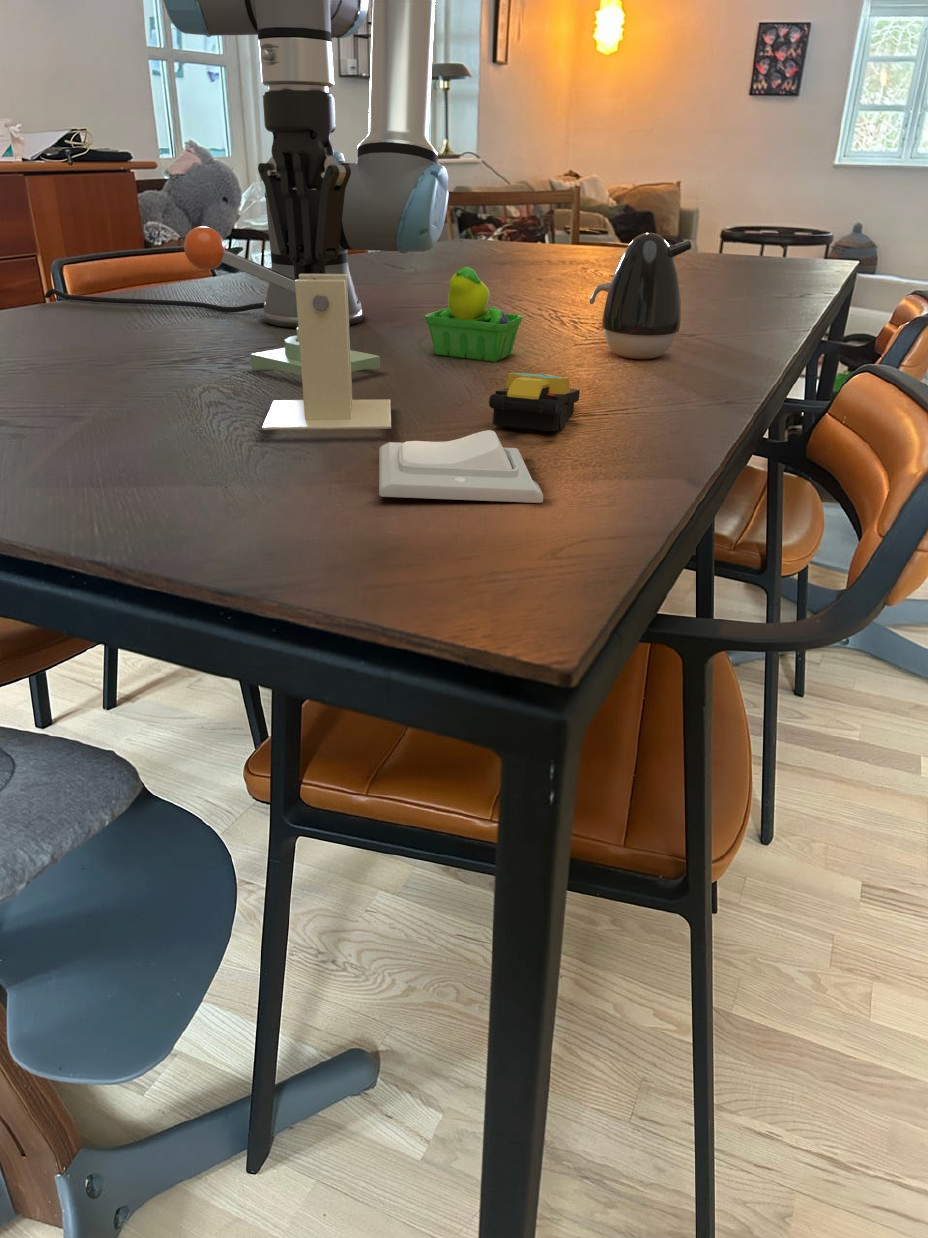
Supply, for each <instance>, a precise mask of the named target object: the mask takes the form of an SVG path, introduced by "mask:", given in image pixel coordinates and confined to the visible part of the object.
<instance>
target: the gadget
mask: <svg viewBox="0 0 928 1238" xmlns="http://www.w3.org/2000/svg"><path fill="white" fill-rule="evenodd" d="M580 394H581V389H577V388H573V387H570V377H566V376H559V375H553V374H550V373H549V374H547V373H525V372H509V373H508V374H507V379H506V384H505V388H503V389H498V390H495V393H492V394H490V396H489V398H488V399H489V401H488V406H489V407H490V408H491V409H493V412H492V413H493V414H492V425H493V426H501V427H503V428H506V429H507V428H508V429H511V430H514V431H517V432H521V433H530V434H532V433H548V432H559V430H563V428H565V427H566V422H567V421H568V420H569V418H571V417H572V416H573V414H574V407H575V403H577V402H579V401H580Z"/></svg>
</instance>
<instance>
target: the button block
mask: <svg viewBox="0 0 928 1238" xmlns="http://www.w3.org/2000/svg"><path fill="white" fill-rule="evenodd" d="M283 344H284V347H280V348H276V349H270V350H265V351H259V352H255V353H250V360H251V361H250V363H251V370H252V371H260V370H261V371H263V370H266V371H267V370H268V371H269V370H271V371H273V370H275V371H281V372H284V373H289V374H292V375H297V376H301V377H302V371H301V358H300V344H299V342H297V335H293V336H289V337H286V338H285V339H284V340H283ZM350 357H351V373H353V372H358V371H362V370H381V356H380V355H377V354H371V353H367V352H361V351H357V350H353V349H350Z"/></svg>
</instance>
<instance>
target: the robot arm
mask: <svg viewBox="0 0 928 1238" xmlns="http://www.w3.org/2000/svg"><path fill="white" fill-rule="evenodd" d="M162 1H163V4H164V7H165V9H166V14H167V16H168V18H169V20H170V22H171V23H172V24H173V26H174V27H175V28H176V29H177V30H178V31H179V32H181V33H182V34H184V35H195V36H206V37H207V38H211V37H212V36H213V37H216V36H217V37H219V36H220V37H221V36H257V40H258V48H259V49H258V50H259V51H258V52H259V64H260V79H261V83H262V85H264V86H266V87H267V88H268V89H267V90H268V91H264V92H263V95H262V96H261V97H262V109H263V120H264V121H263V123H264V128H265V129H266V131H268V132H270V133H272V144H271V149H270V151H271V156H270V158H269V159H268V160H267V162H260V163H258V166H257V171H258V174H259V176H260V178H261V180H262V182H263V185H264V194H263V195H264V196H263V197H264V199H265V206H266V217H267V228H268V240H269V251H270V260H271V262H270V263H271V269H272V270H274V271H277V272H279V273H281V274H284V275H286V276H288V277H291V278H293V279H295V280H296V279H299V274H347V292H348V314H349V326H350V325H355V324H358V323H360V322H361V321H362V320H363V309H362V304H361V301H360V300H358V294H357V290H356V287H355V284H354V281H353V278H352V275H351V272H350V267H349V256H348V255H349V254H348V253H349V250H350V251H374V252H376V251H377V252H398V253H400V254H407V253H418V252H420V253H421V252H423V253H424V252H427V251H430V250H432V249H433V248H434V247H435V246H436V245H437V243H438V241H439V239H440V237H441V235H442V232H443V229H444V226H445V223H446V222H445V221H446V217H447V212H448V205H449V174H448V171H447V168H445V166H444V165H442V164H440V163H439V162H438V159H439V155H438V153H439V152H438V151H437V150H436V149H435V147H434V146H433V145H432V144H431V142H430V141H429V129H430V128H429V127H430V107H431V106H430V104H431V86H432V67H433V66H432V64H433V46H434V45H433V44H434V43H433V42H434V26H435V25H434V24H435V5H436V3H435V2H436V0H372V12H371V13H372V15H371V17H372V18H371V43H370V44H371V46H370V47H371V48H370V72H369V73H370V78H369V105H368V106H369V107H368V112H369V113H368V134H367V135H366V137H365V138H364V139H363V140H362V141H361V142H359V143H358V145H357V148H356V162H346V158H344V154H343V153H342V152H341V151H335V150H334V148H333V145H332V142H331V134H332V133H334V132H335V131H336V128H337V126H336V125H337V124H336V104H335V97H334V96H333V94H332V93H330V92H329V88H333V87H334V85H335V77H334V75H335V74H334V60H333V59H334V58H333V57H334V56H333V44H332V39H334V38H335V39H344V38H348V37H350V36H352V35H355V34H356V32H357V31H358V30H359V29H360V28H361V27H362V26H363V24H364V22H365V20H366V18H367V15H368V11H369V0H162ZM52 295H56V296H58V297H60V298H61V299H64V300H69V301H70V300H71V301H79V302H90V303H91V302H92V303H102V304H103V303H105V304H124V305H126V304H127V305H152V306H172V307H173V306H174V307H190V308H200V309H201V308H202V309H207V310H212V311H217V312H223V313H241V312H247V311H253V310H259V309H262V311H263V320H264V322H266V323H267V324H269V325H273V326H277V327H283V328H284V327H285V328H295V329H297V328H298V316H297V302H296V293H293V292H291V291H289V290H286V289H284V288H281V287H279V286H277V285H274V284H272V283H269V282H268V286H267V291H266V297H265V301H264V302H258V303H249V304H245V305H239V306H224V305H218V304H213V303H209V302H208V303H207V302H200V301H191V300H190V301H189V300H173V299H153V298H152V299H151V298H150V299H149V298H127V297H126V298H123V297H122V298H121V297H105V296H104V297H103V296H90V295H78V294H69V293H65V292H63V291H61V290H59V289H57V288H49V289H48V291H46V293H45V294H44V296H43V298H44V299H50V298H51V297H52Z"/></svg>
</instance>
